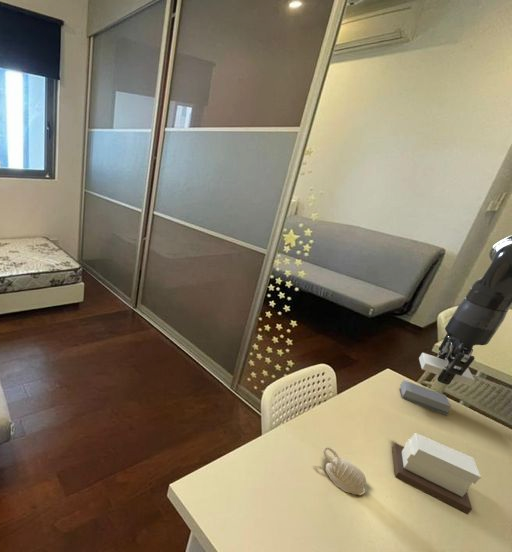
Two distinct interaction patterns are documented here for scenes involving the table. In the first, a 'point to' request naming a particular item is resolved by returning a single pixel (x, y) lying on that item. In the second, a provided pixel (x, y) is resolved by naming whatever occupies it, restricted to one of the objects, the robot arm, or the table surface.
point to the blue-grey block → (425, 397)
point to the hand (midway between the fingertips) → (440, 375)
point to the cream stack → (436, 470)
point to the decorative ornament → (345, 474)
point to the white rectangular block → (437, 366)
